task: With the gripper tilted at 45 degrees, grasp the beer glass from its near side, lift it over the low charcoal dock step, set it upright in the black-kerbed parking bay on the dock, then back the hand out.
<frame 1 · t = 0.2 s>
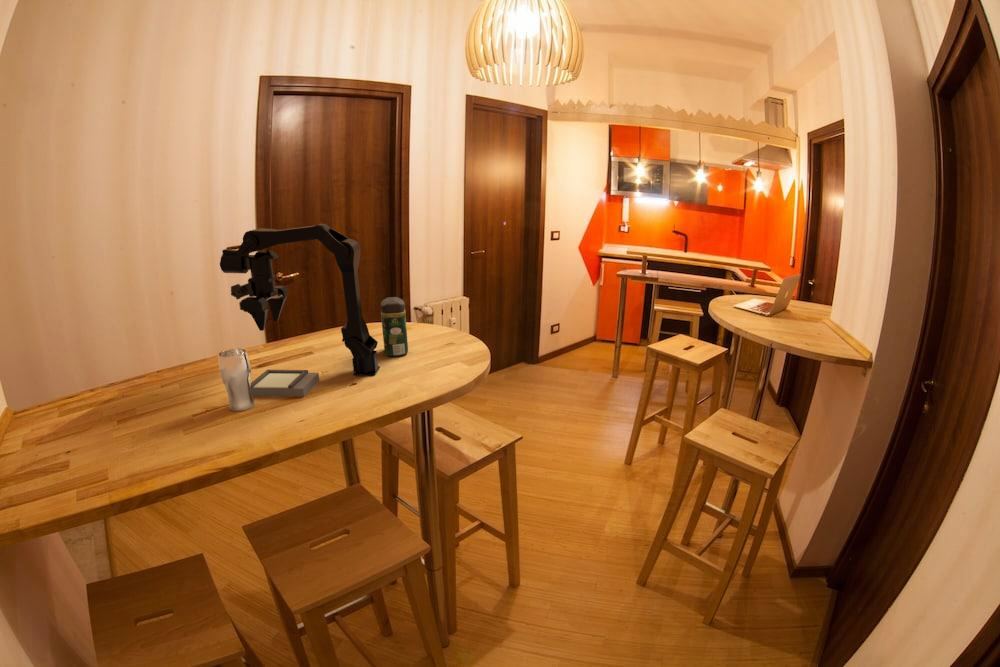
hand: (269, 325, 149), 15 cm above the table, tool pointing down, fingers open, 9 cm apart
dock: (285, 388, 142), on the table
coffee jar: (396, 352, 169), on the table
beer glass: (242, 406, 132), on the table
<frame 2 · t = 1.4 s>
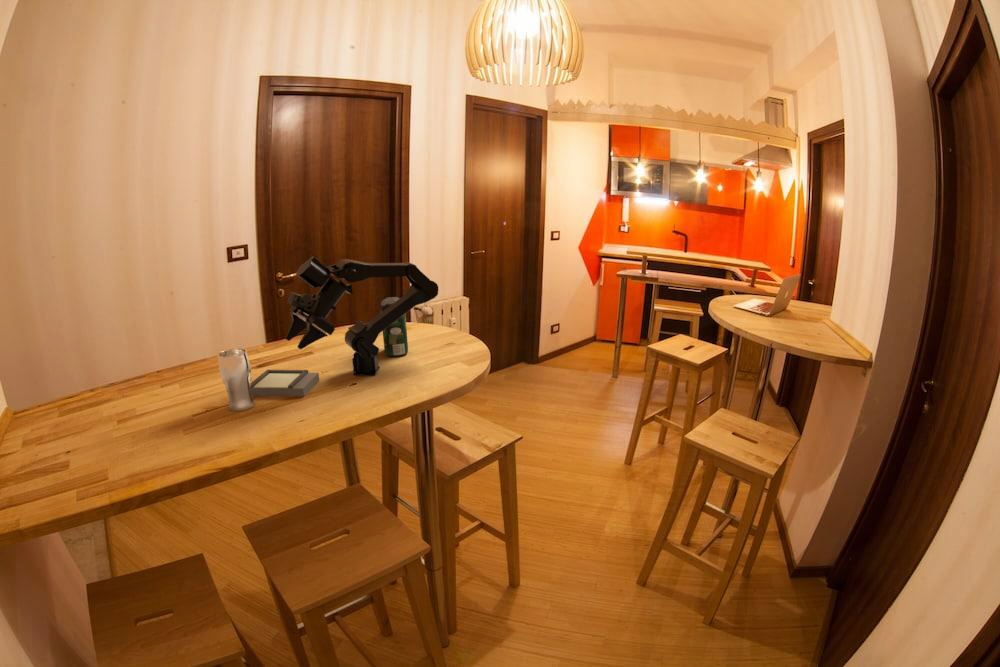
hand: (292, 344, 137), 14 cm above the table, tool tilted 45°, fingers open, 9 cm apart
nothing on the table moved.
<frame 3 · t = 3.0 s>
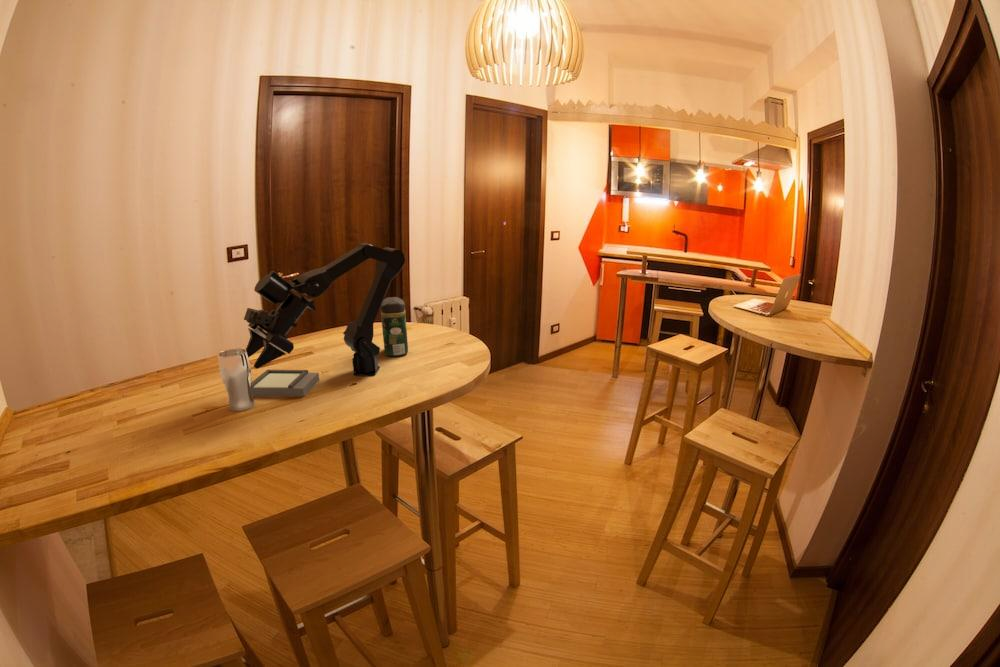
hand: (249, 362, 130), 11 cm above the table, tool tilted 45°, fingers open, 9 cm apart
nothing on the table moved.
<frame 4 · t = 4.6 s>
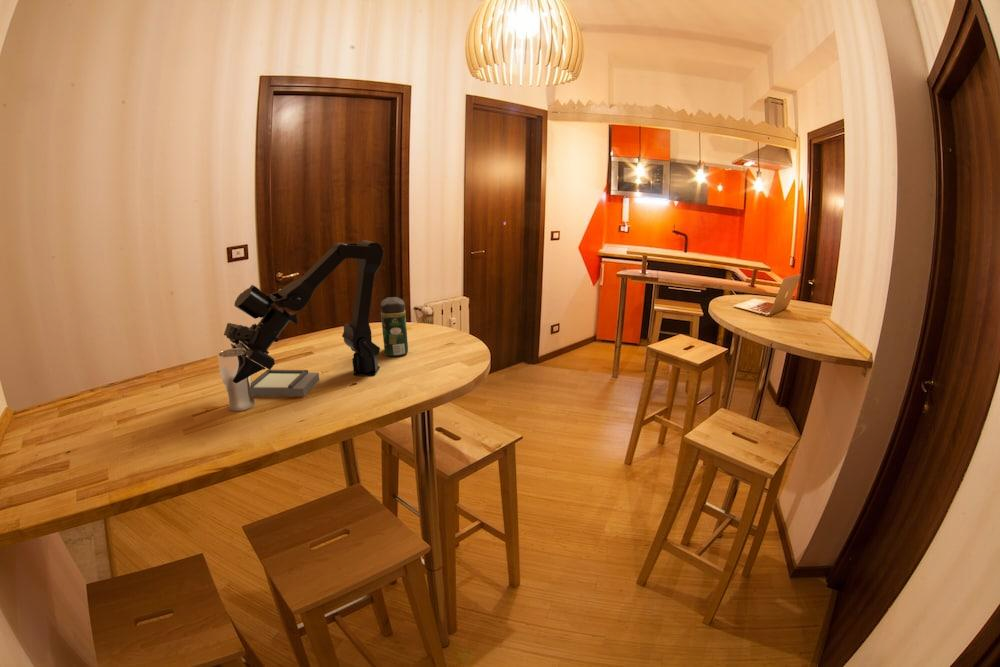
hand: (230, 378, 128), 8 cm above the table, tool tilted 45°, fingers closed on beer glass, 6 cm apart
beer glass: (242, 406, 131), on the table, touching gripper
everything else where it was.
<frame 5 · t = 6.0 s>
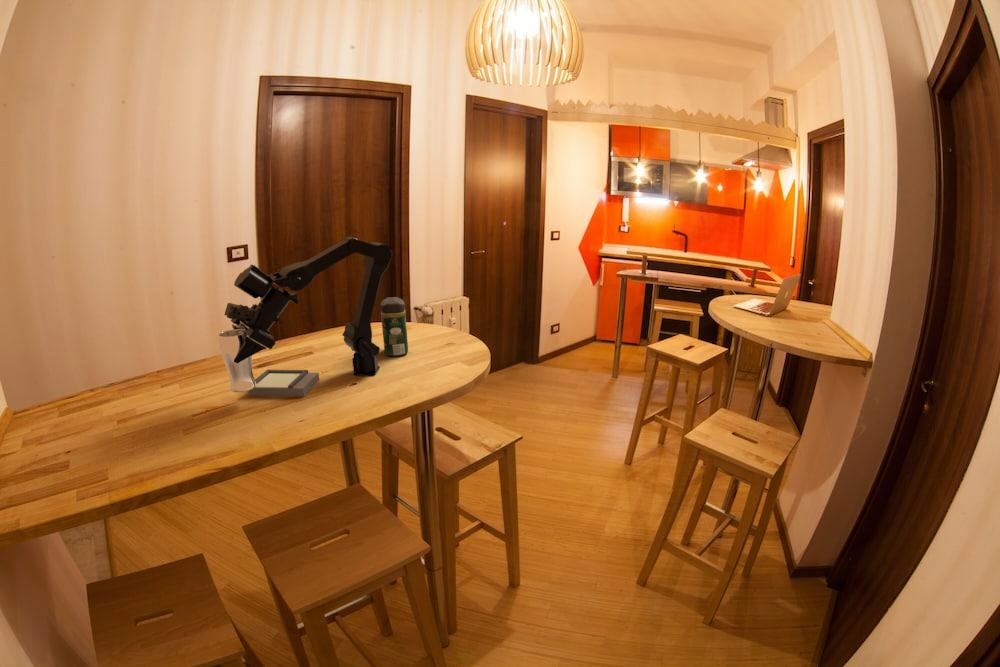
hand: (231, 358, 128), 13 cm above the table, tool tilted 45°, fingers closed on beer glass, 6 cm apart
beer glass: (244, 388, 131), point 5 cm above the table, touching gripper
everything else where it was.
when the fingers open (12 cm above the table, at t = 7.8 s): beer glass stays where it is, resting on dock.
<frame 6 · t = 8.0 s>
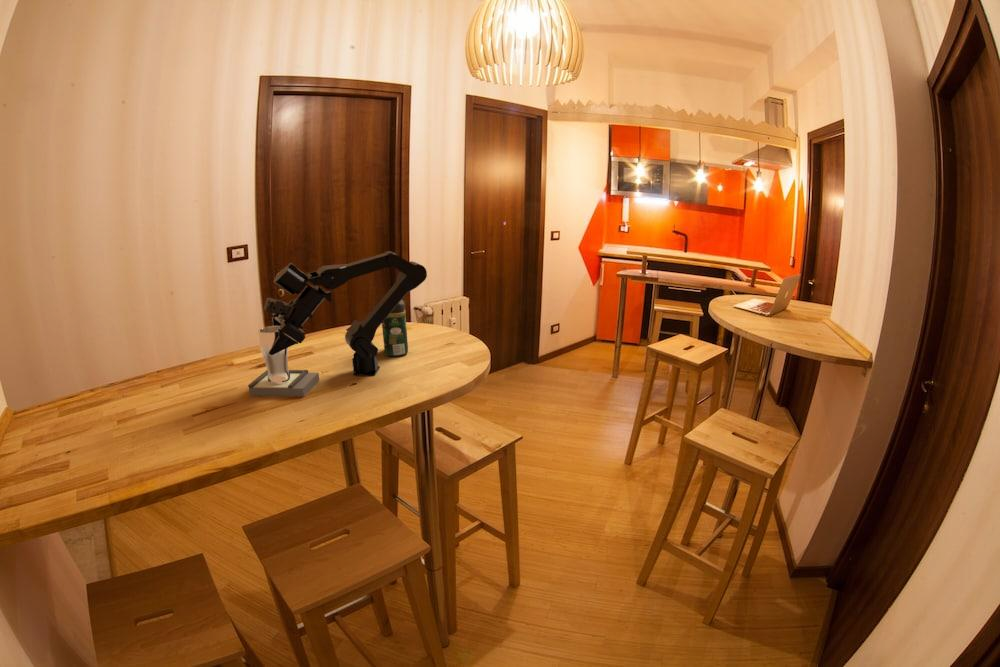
hand: (268, 349, 137), 12 cm above the table, tool tilted 45°, fingers open, 9 cm apart
beer glass: (279, 381, 141), point 3 cm above the table, touching dock
everything else where it was.
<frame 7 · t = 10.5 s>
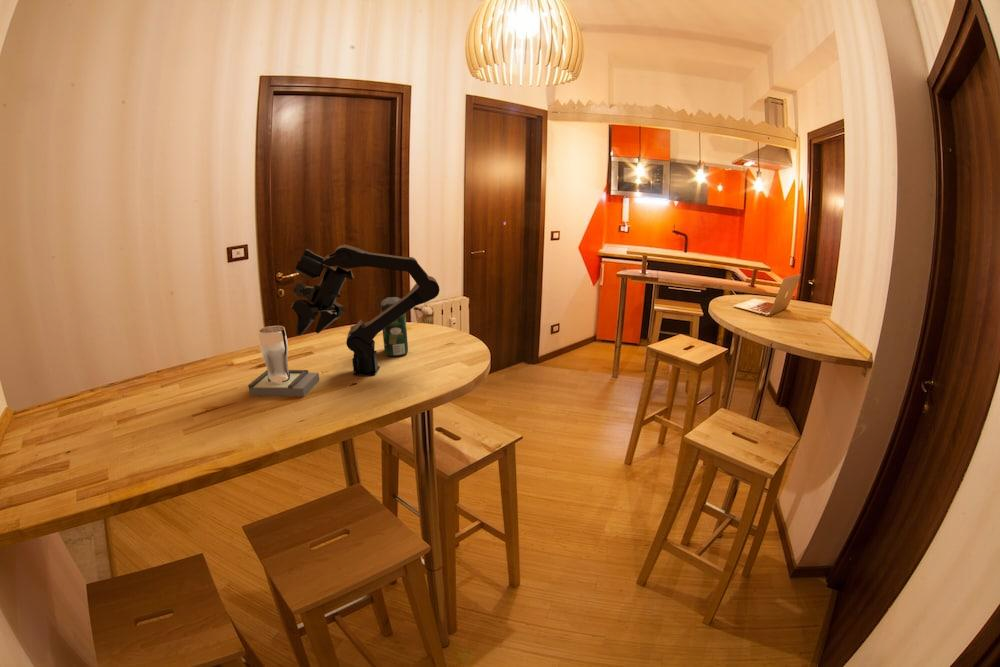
hand: (307, 333, 146), 13 cm above the table, tool tilted 30°, fingers open, 9 cm apart
nothing on the table moved.
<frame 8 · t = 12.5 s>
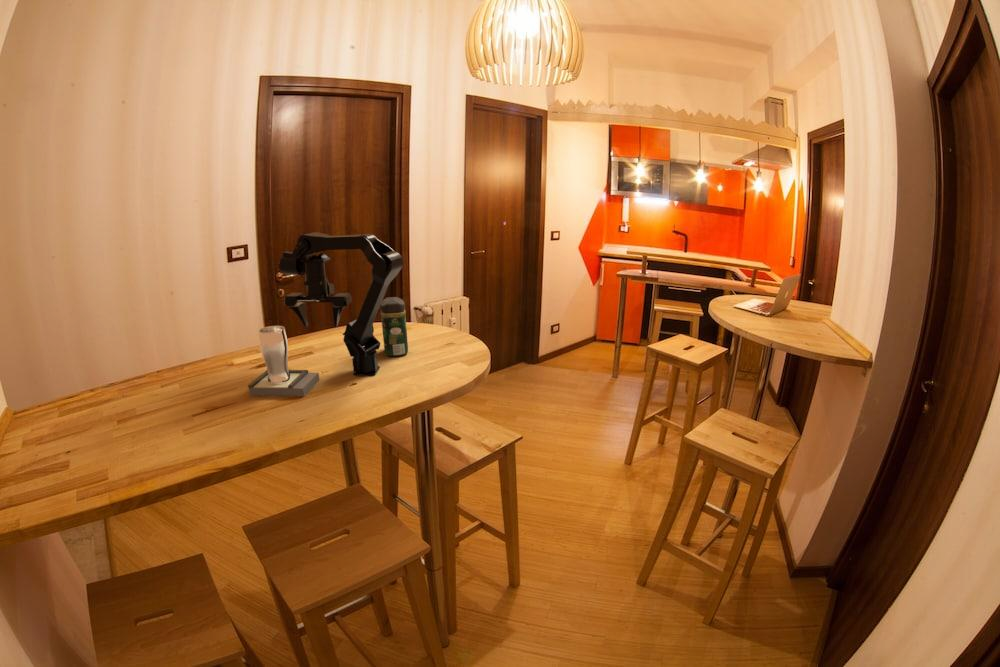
hand: (321, 326, 153), 13 cm above the table, tool pointing down, fingers open, 9 cm apart
nothing on the table moved.
at the end: beer glass inside the target area on the dock (0.5 cm from its centre), point 2.5 cm above the dock's base; beer glass tilted 0°; the gripper is holding nothing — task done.
